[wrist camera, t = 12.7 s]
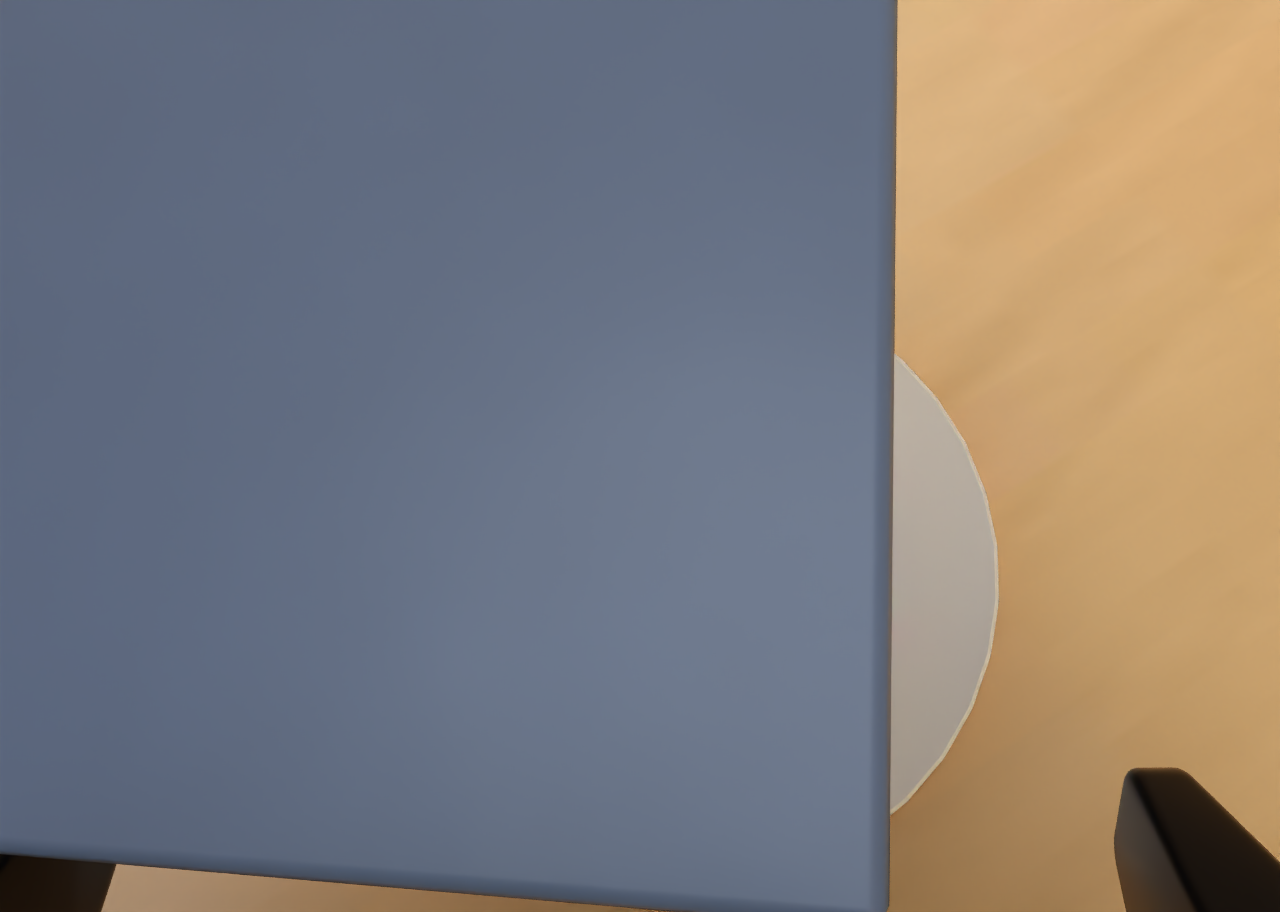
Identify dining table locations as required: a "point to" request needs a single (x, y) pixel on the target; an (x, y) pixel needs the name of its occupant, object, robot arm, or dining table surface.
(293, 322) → the block
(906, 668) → the pudding
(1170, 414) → the dining table surface
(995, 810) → the dining table surface
